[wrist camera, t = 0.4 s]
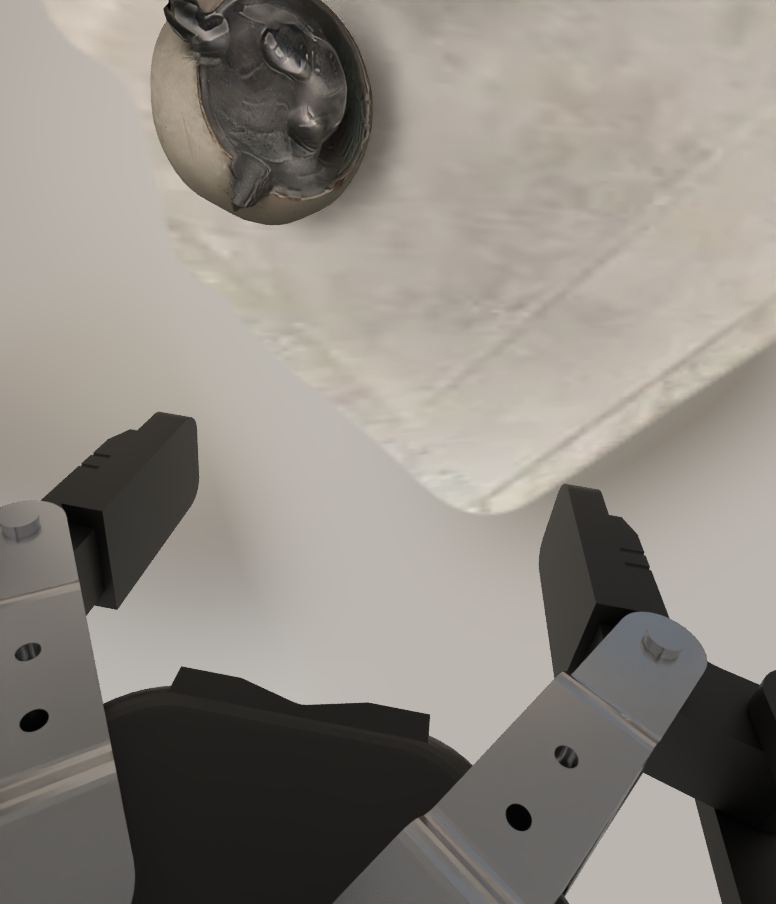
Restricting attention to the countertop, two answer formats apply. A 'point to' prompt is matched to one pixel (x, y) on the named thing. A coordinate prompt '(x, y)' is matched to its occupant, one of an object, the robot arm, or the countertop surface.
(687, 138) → the countertop surface
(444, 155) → the countertop surface
